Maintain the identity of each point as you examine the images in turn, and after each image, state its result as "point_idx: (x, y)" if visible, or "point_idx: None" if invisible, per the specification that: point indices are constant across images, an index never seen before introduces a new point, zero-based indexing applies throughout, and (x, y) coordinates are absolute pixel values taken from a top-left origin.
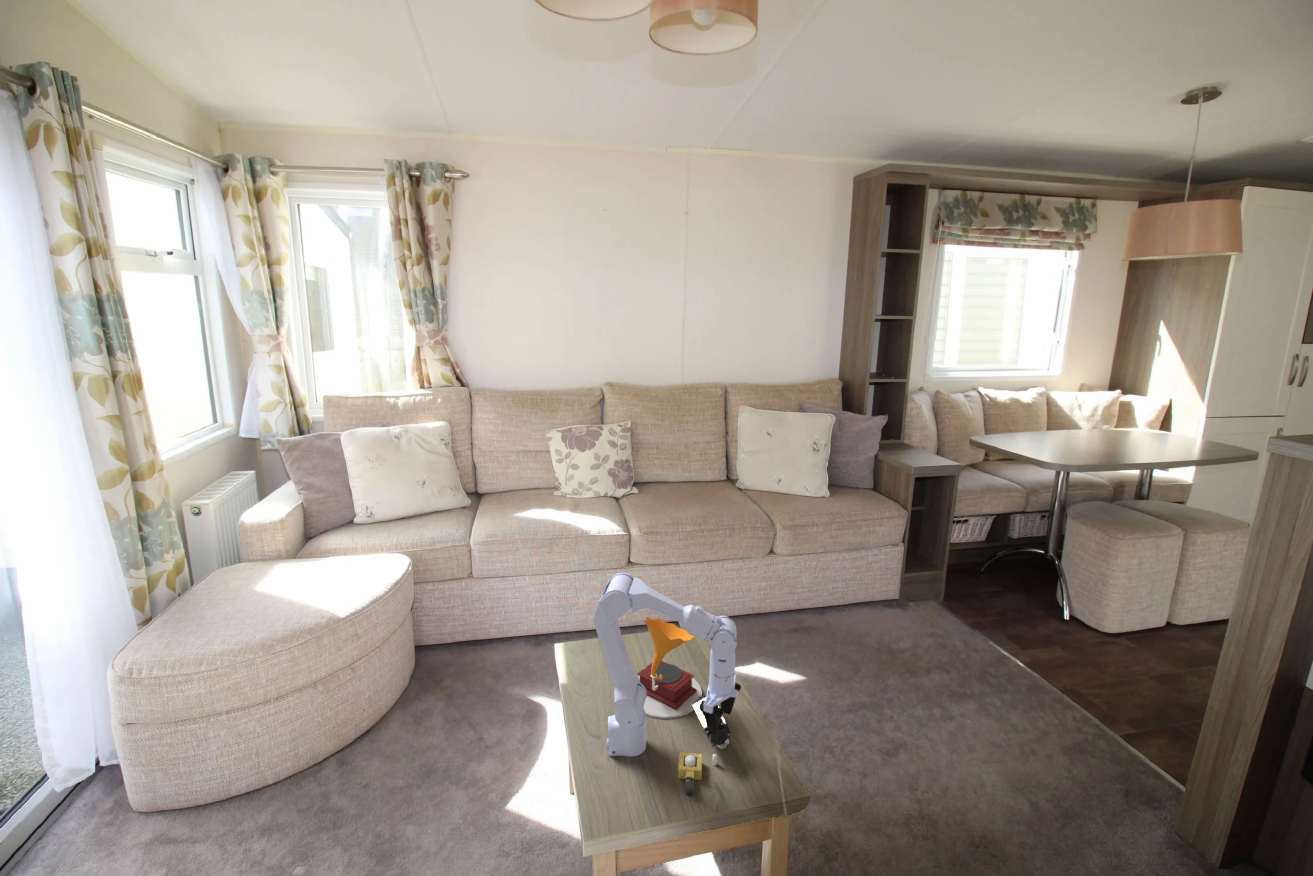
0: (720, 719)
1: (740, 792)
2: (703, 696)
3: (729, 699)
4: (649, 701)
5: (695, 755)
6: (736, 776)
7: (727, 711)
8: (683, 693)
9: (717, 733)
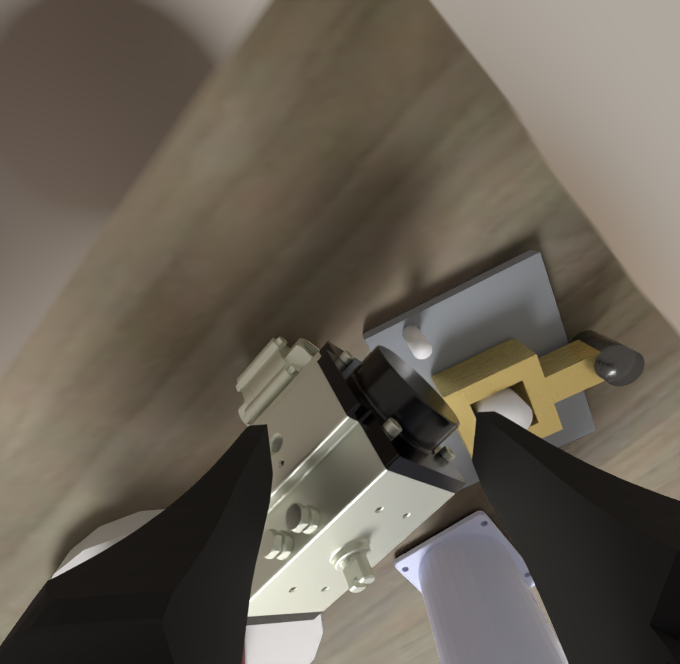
0: (557, 476)
1: (474, 181)
2: None
3: (234, 535)
4: (264, 638)
5: (463, 413)
6: (401, 234)
7: (266, 453)
8: None
9: (439, 406)
